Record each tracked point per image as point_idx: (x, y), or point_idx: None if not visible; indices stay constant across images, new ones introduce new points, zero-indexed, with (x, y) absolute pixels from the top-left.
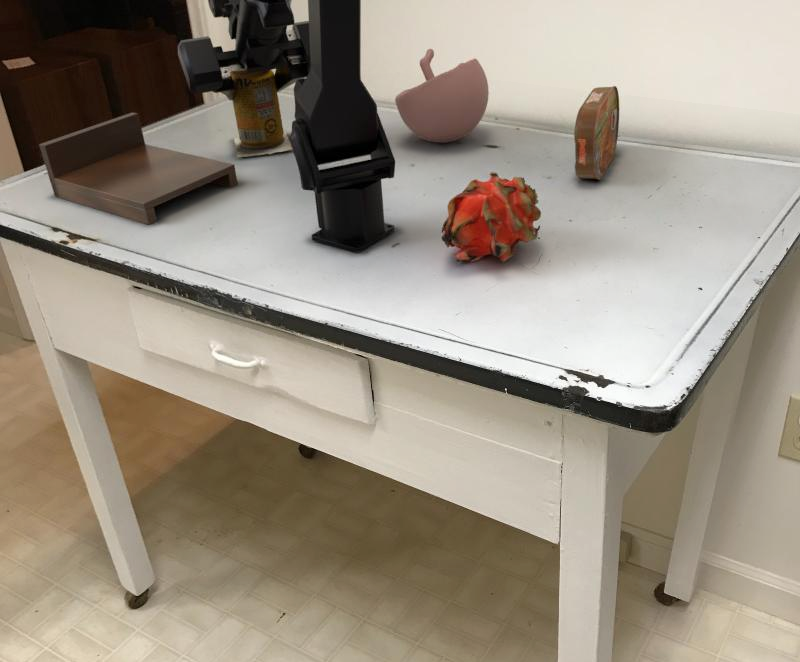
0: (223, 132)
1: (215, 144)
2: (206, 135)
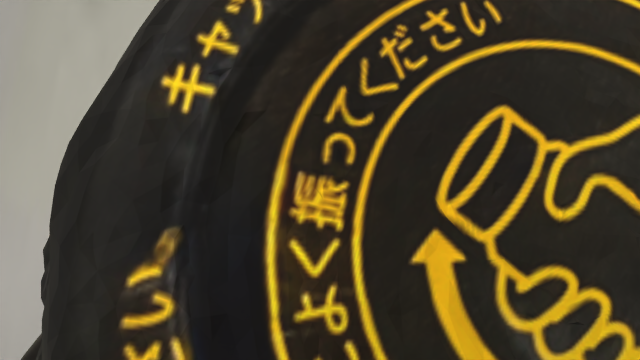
0: (105, 34)
1: (27, 215)
2: (6, 39)
